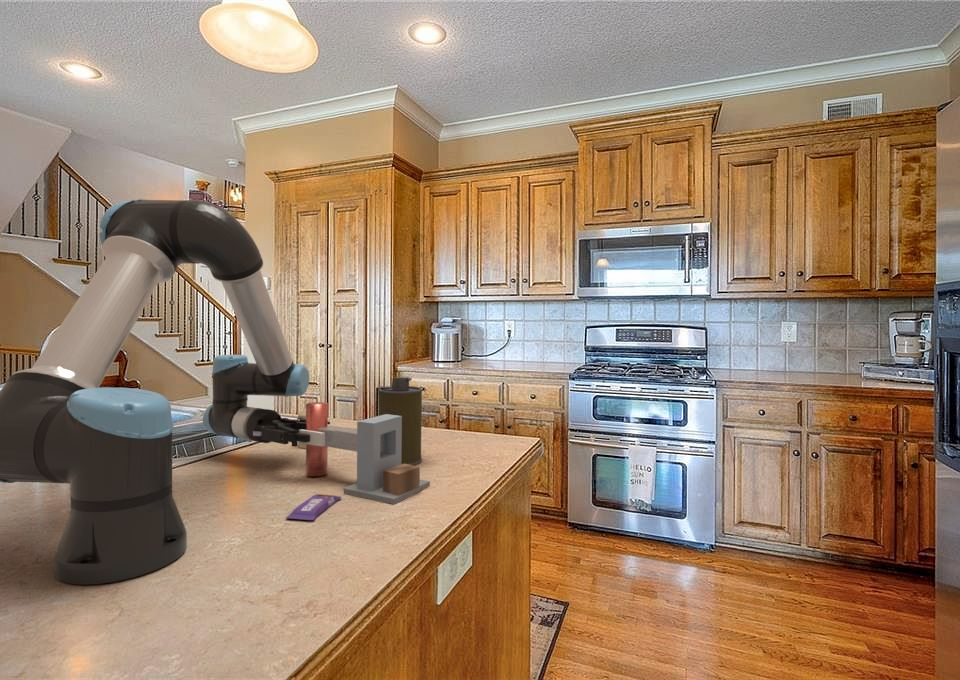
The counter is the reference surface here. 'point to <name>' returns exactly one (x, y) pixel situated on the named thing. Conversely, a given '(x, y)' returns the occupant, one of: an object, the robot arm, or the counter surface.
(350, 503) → the counter surface
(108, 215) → the robot arm
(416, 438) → the canister
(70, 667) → the counter surface
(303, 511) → the snack package
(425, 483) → the grey holder stand
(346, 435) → the shaft
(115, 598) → the counter surface
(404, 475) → the bar
